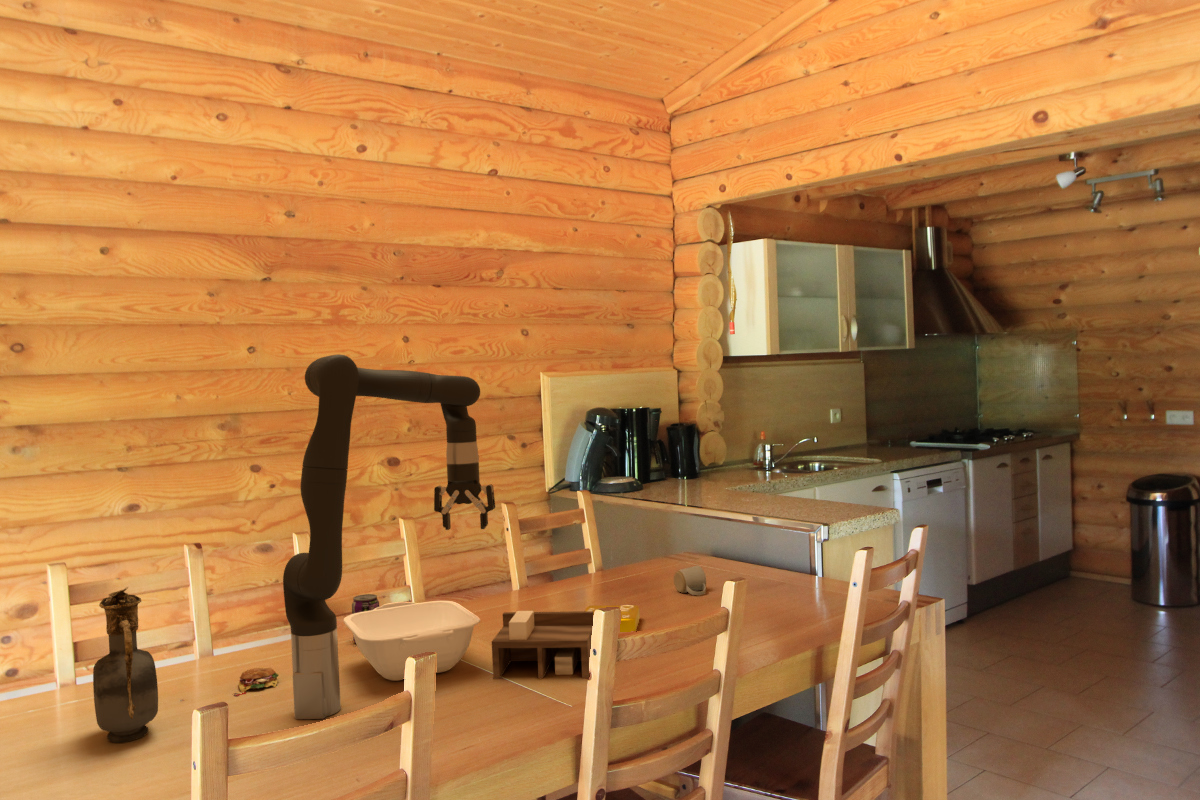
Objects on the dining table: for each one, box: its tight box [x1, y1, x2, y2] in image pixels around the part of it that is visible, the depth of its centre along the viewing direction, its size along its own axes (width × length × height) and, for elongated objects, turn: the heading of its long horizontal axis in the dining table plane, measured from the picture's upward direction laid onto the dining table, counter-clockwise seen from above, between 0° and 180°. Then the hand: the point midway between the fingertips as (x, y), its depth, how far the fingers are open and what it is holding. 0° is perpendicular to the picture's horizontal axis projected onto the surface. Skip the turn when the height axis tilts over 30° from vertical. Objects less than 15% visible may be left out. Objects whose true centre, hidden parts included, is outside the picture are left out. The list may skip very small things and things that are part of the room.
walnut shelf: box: [491, 610, 594, 680], centre depth 210 cm, size 14×22×12 cm, turn 84°
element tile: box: [584, 604, 641, 632], centre depth 244 cm, size 15×15×5 cm
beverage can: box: [351, 593, 380, 643], centre depth 238 cm, size 7×7×12 cm
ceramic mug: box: [673, 565, 707, 596], centre depth 278 cm, size 11×8×8 cm
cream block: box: [509, 610, 535, 640], centre depth 210 cm, size 10×4×4 cm, turn 174°
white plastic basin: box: [343, 600, 481, 682], centre depth 213 cm, size 34×28×13 cm
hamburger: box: [233, 667, 279, 698], centre depth 205 cm, size 14×14×6 cm
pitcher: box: [92, 586, 159, 744], centre depth 177 cm, size 11×19×30 cm, turn 33°
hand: (465, 529), depth 212 cm, fingers open, 8 cm apart
